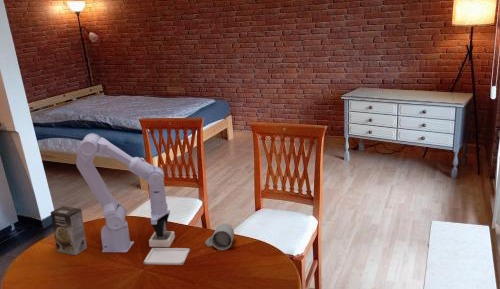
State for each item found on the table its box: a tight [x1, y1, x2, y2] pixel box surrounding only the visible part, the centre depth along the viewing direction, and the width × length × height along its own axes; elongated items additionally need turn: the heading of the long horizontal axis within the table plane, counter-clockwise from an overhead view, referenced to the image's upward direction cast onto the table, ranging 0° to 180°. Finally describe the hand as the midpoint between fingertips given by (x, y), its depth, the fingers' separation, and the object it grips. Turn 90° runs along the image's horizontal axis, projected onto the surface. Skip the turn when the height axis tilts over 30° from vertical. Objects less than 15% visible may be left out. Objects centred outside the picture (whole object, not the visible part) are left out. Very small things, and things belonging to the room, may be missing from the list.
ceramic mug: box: [205, 223, 235, 251], centre depth 165 cm, size 11×8×8 cm
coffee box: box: [50, 205, 88, 256], centre depth 164 cm, size 9×6×16 cm
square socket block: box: [148, 230, 176, 248], centre depth 168 cm, size 8×8×3 cm
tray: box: [142, 247, 191, 266], centre depth 158 cm, size 14×10×1 cm
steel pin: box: [157, 218, 167, 240], centre depth 167 cm, size 4×4×9 cm
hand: (161, 233), depth 168 cm, fingers closed on steel pin, 4 cm apart
